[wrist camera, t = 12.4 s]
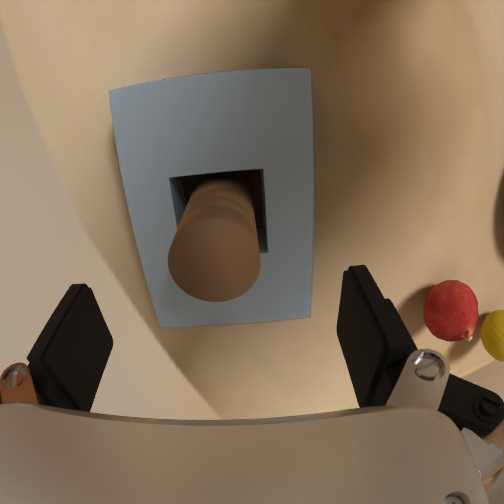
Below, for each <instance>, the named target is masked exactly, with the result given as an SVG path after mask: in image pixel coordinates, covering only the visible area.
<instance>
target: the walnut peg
mask: <svg viewBox="0 0 504 504" xmlns="http://www.w3.org/2000/svg"><path fill="white" fill-rule="evenodd" d="M260 267H261V259H260V252H259V244H258V237H257V229H256V222H255V214H254V207H253V200H252V192H251V188H250V185H249V183H248V181H247V180H246V179H245V177H244V176H243V175H241V174H240V173H239V172H237V171H226V172H216V173H206V174H203V175H202V176H201V177H200V178H199V180H198V181H197V183H196V185H195V187H194V189H193V192H192V194H191V197H190V199H189V201H188V204H187V206H186V209H185V211H184V213H183V216H182V218H181V221H180V223H179V226H178V228H177V231H176V233H175V236H174V238H173V241H172V244H171V246H170V249H169V252H168V268H169V271H170V274H171V276H172V278H173V280H174V281H175V283H176V284H177V285H178V287H179V288H181V289H182V290H183V291H184V292H185V293H187V294H188V295H190V296H192V297H194V298H197V299H199V300H203V301H208V302H224V301H229V300H232V299H235V298H237V297H239V296H241V295H243V294H244V293H246V292H247V291H248V290H249V289H250V288H251V287H252V286H253V285H254V283H255V282H256V280H257V278H258V276H259V272H260Z"/></svg>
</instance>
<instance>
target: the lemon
mask: <svg viewBox="0 0 504 504" xmlns="http://www.w3.org/2000/svg"><path fill="white" fill-rule="evenodd" d="M481 339H482V343H483V345H484V347H485V349H486V350H487V352H488V353H489V354H490V355H491V356H492V357H494V358H495V359H497V360H499V361H504V310H498V311H494V312H492V313H491V314H487V315H486V316H485V320H484V322H483V324H482V327H481Z"/></svg>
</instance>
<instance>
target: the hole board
mask: <svg viewBox="0 0 504 504" xmlns="http://www.w3.org/2000/svg"><path fill="white" fill-rule="evenodd" d="M109 98H110V107H111V114H112V122H113V129H114V135H115V142H116V148H117V154H118V160H119V166H120V171H121V177H122V182H123V187H124V192H125V197H126V202H127V206H128V211H129V215H130V220H131V224H132V229H133V233H134V237H135V241H136V245H137V249H138V253H139V257H140V261H141V265H142V268H143V272H144V276H145V279H146V283H147V286H148V290H149V293H150V297H151V300H152V304H153V307H154V310H155V313H156V317H157V320H158V323H159V326H160V328H176V327H199V326H217V325H232V324H246V323H259V322H271V321H282V320H292V319H302V318H310V313H311V294H312V270H313V235H314V142H313V108H312V86H311V68H269V69H249V70H235V71H223V72H214V73H205V74H197V75H189V76H182V77H176V78H169V79H163V80H158V81H152V82H147V83H142V84H137V85H132V86H128V87H123V88H119V89H115V90H111V91H109ZM251 169H260V176H261V193H262V210H263V227H264V228H263V229H257V237H258V244H259V252H260V259H261V267H260V272H259V276H258V278H257V280H256V282H255V283H254V285H253V286H252V287H251V288H250V289H249V290H248V291H247V292H246V293H244V294H243V295H241V296H239V297H237V298H235V299H232V300H229V301H224V302H208V301H203V300H199V299H197V298H194V297H192V296H190V295H188V294H187V293H185V292H184V291H183V290H182V289H181V288H179V287H178V285H177V284H176V283H175V281H174V280H173V278H172V276H171V274H170V271H169V268H168V252H169V249H170V246H171V244H172V241H173V238H174V236H175V233H176V231H177V228H178V226H179V223H180V221H181V218H182V216H183V213H184V211H185V209H186V203H185V197H184V190H183V183H182V176H187V175H196V174H206V173H216V172H226V171H238V170H251Z"/></svg>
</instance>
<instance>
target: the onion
mask: <svg viewBox="0 0 504 504" xmlns="http://www.w3.org/2000/svg"><path fill="white" fill-rule="evenodd" d="M424 321H425V324H426V326H427V327H428V329H429V330H430V332H431V333H432V334H433V335H434V336H436V337H437V338H439V339H442V340H445V341H450V342H452V341H460V340H463V339H464V340H466V341H467V342H469V341H470V340H471V339H472V338H473V332H474V329H475V327H476V324H477V322H478V301H477V298H476V296H475V294H474V293H473V291H472V290H471V288H470V287H469V286H467V285H466V284H464V283H462V282H460V281H457V280H447V281H443V282H441V283H439V284H437V285H435V286H433V287H432V288H431V290H430V292H429V293H428V295H427V298H426V301H425V304H424Z"/></svg>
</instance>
